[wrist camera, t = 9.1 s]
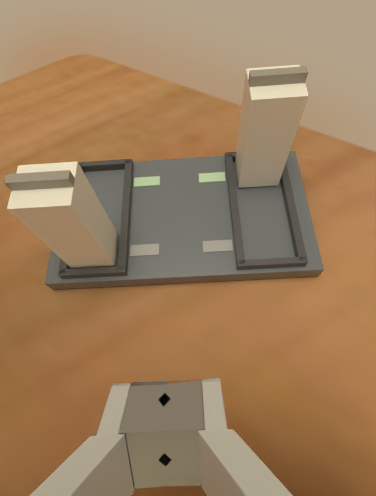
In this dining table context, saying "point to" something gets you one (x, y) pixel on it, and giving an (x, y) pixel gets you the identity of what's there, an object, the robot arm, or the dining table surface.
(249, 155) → the tab far
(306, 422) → the dining table surface
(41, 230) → the tab near
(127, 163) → the grey rectangular board
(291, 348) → the dining table surface
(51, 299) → the dining table surface
